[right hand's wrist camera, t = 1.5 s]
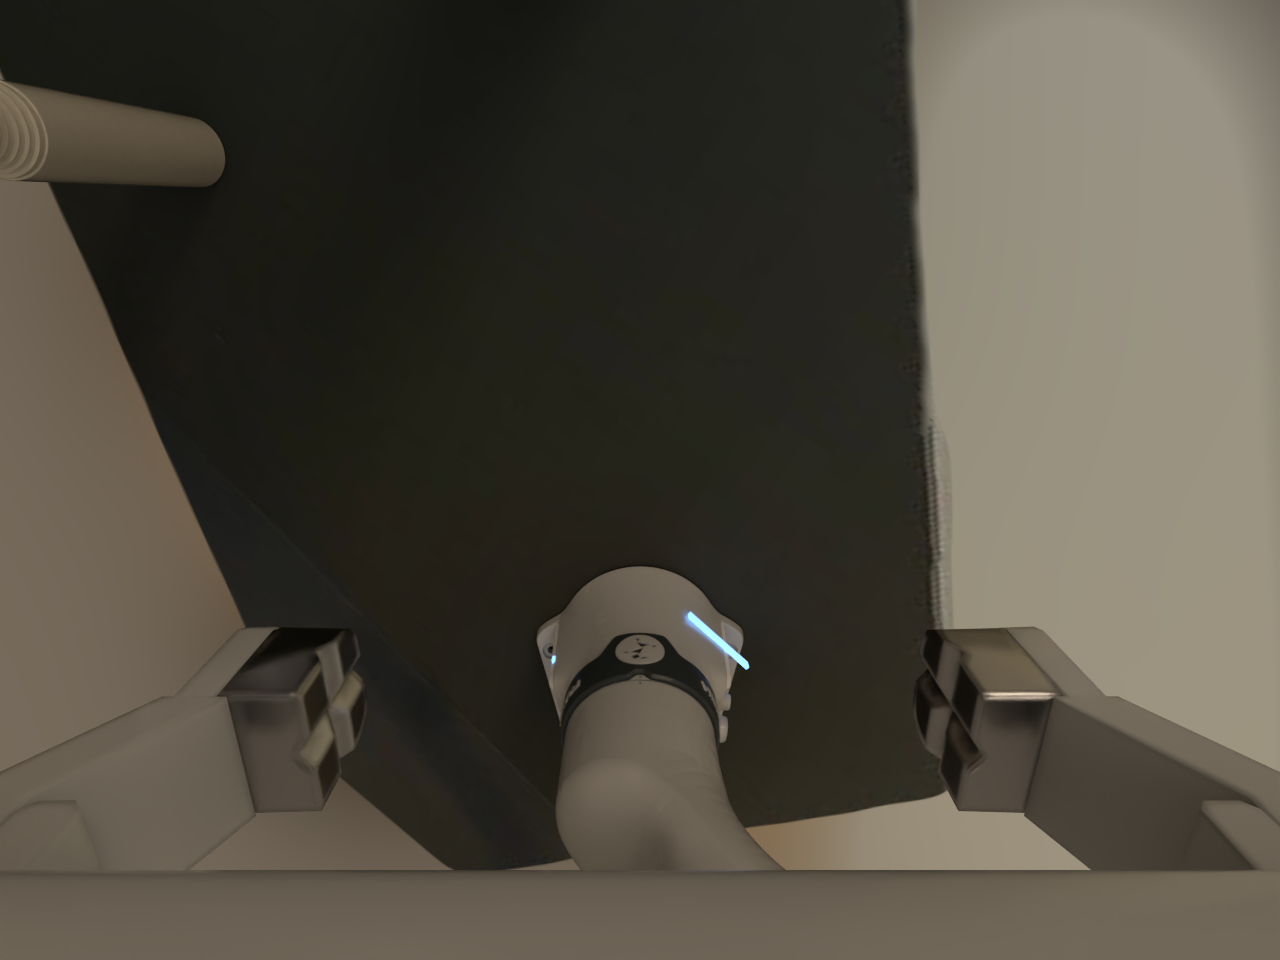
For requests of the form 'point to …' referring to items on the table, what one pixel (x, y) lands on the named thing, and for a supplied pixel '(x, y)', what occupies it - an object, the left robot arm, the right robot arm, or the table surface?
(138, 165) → the bottle
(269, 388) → the table surface
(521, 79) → the table surface
